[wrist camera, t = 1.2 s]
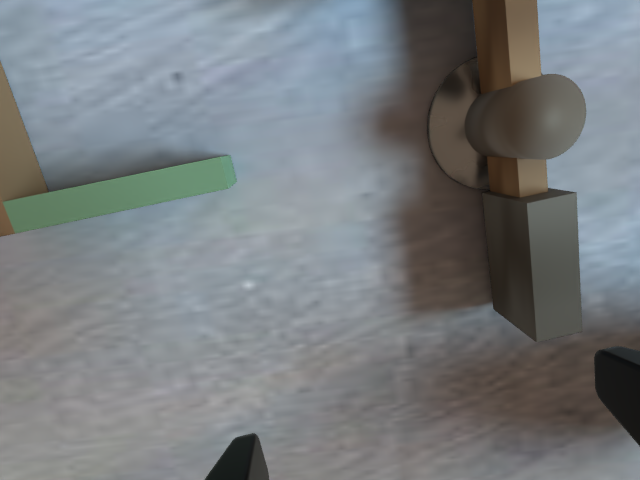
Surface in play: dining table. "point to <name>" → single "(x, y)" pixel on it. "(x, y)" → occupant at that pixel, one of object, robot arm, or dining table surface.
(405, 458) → the dining table surface
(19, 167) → the pocket
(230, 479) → the robot arm
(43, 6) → the dining table surface
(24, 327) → the dining table surface
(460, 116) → the pivot disc
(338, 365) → the dining table surface
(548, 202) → the flipper
